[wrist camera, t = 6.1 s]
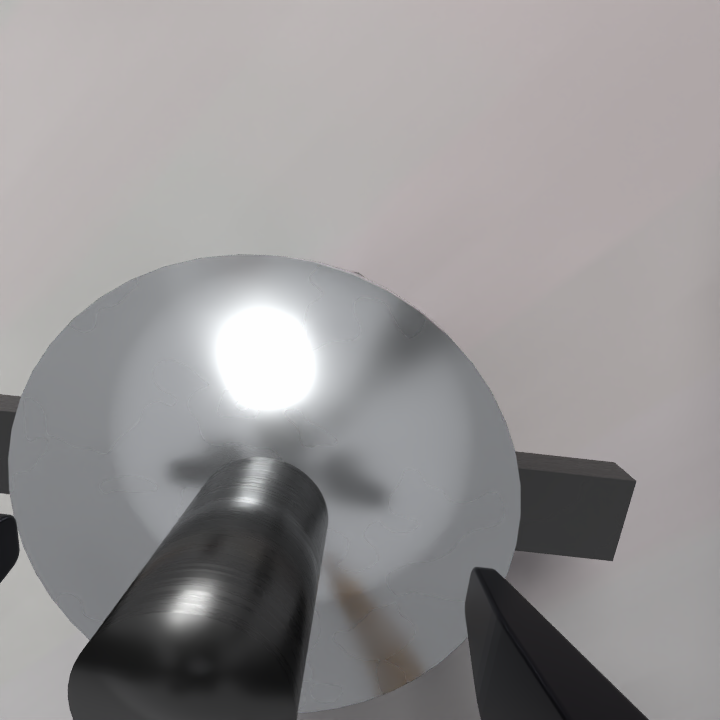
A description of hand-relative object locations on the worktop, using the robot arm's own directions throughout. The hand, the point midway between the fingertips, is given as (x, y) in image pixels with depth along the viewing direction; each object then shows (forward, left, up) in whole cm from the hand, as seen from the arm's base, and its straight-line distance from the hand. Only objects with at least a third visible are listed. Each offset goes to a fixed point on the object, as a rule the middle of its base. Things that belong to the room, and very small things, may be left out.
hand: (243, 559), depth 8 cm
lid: (0, 0, -2) cm, 2 cm away
